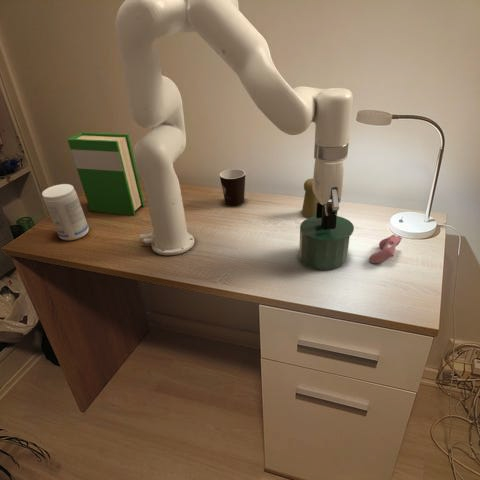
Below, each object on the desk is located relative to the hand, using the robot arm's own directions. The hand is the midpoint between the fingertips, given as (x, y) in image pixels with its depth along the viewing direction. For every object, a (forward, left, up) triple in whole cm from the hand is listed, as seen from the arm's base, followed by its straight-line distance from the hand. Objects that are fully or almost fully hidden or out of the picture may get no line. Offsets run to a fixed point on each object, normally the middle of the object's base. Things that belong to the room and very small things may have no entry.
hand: (325, 222), depth 106 cm
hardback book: (-61, +46, -11) cm, 77 cm away
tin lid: (0, 0, -2) cm, 2 cm away
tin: (0, 0, -10) cm, 10 cm away
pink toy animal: (+16, -3, -11) cm, 19 cm away
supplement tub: (-73, +30, -11) cm, 80 cm away
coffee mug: (-20, +42, -11) cm, 48 cm away
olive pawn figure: (+3, +26, -11) cm, 28 cm away
